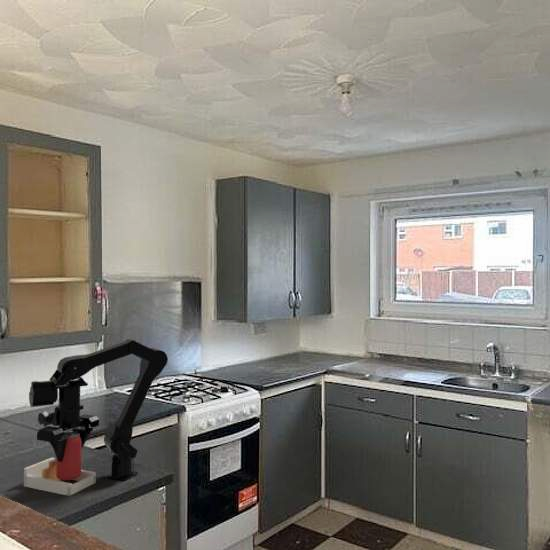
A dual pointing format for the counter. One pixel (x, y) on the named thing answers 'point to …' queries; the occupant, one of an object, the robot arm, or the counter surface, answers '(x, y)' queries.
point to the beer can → (70, 458)
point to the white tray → (36, 481)
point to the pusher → (50, 471)
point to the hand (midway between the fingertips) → (69, 457)
